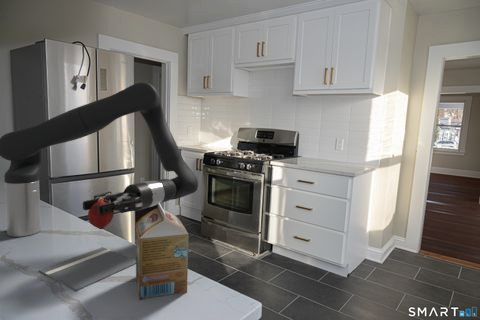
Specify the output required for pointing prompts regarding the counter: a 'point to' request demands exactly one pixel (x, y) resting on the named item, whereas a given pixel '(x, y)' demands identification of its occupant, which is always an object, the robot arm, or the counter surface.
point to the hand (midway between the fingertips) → (91, 208)
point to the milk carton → (161, 255)
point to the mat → (88, 268)
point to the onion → (98, 219)
